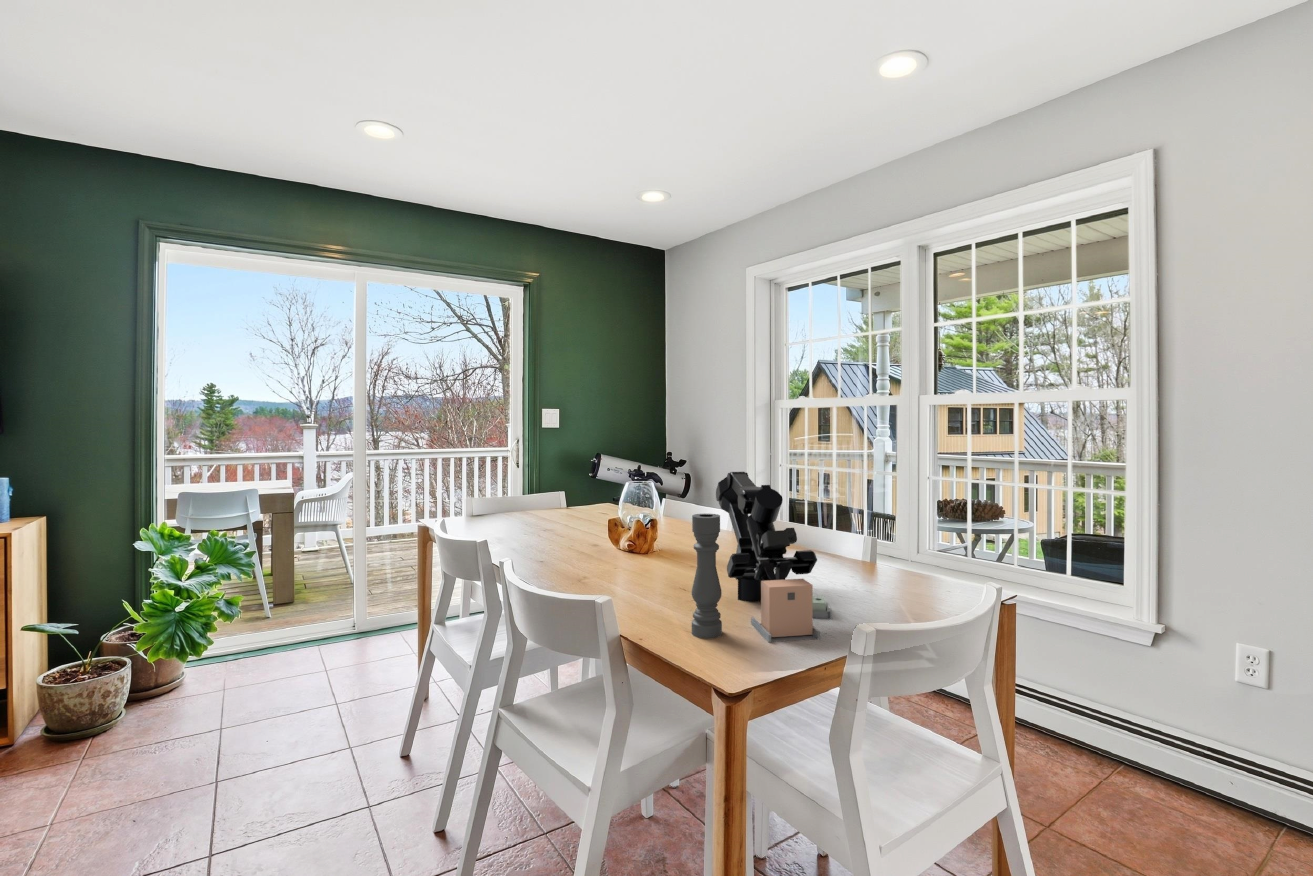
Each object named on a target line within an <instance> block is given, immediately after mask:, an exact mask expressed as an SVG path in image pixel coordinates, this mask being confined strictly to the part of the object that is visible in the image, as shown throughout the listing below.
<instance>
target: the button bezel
mask: <svg viewBox="0 0 1313 876" xmlns="http://www.w3.org/2000/svg"><path fill="white" fill-rule="evenodd" d="M813 619H817V620H818V619H819V620H834V617H833V614H832V610H831V608H830V606H829V603H828V602H826V611H818V610H813Z"/></svg>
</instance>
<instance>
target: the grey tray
mask: <svg viewBox="0 0 1313 876" xmlns="http://www.w3.org/2000/svg"><path fill="white" fill-rule="evenodd" d="M750 625H751V626H752V627H753V628H754V629H755V630H756V631H757V632H758V634H759V635H761V636H762V637H763V639H764V640H765V641H766V642H768V643H782V642H784V643H787V642H796V641H797V642H799V641H812V640H813V641H815V640H821V630H820V629H818V628H817V627H815V626H814V625H813V635H798V636H784V637H771V634H770V633H769V632H768V631H767V630H766V629H765V628H764V627H763V626H762V625H761V622H759V620H757V619H756V618H755V617H754V616H751V617H750Z"/></svg>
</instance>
